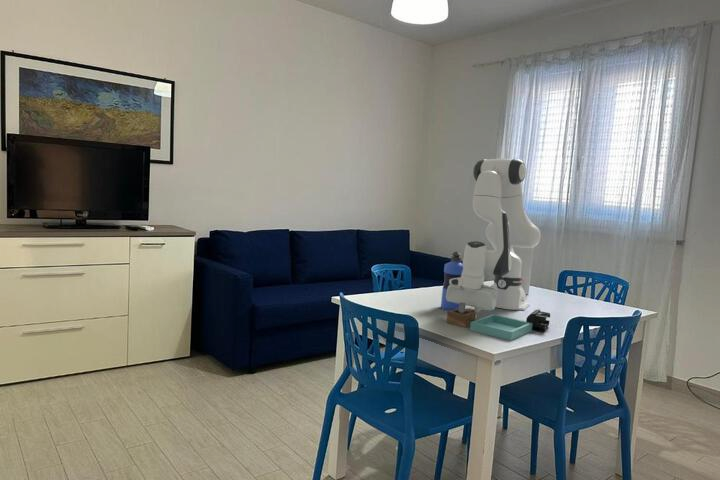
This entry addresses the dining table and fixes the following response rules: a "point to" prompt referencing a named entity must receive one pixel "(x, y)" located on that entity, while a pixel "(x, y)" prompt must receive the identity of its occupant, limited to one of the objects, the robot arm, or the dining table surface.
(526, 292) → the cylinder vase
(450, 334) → the dining table surface
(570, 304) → the dining table surface
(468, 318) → the wooden box
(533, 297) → the dining table surface
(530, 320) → the black blocky piece
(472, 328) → the tray
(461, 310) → the stake
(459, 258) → the water bottle
